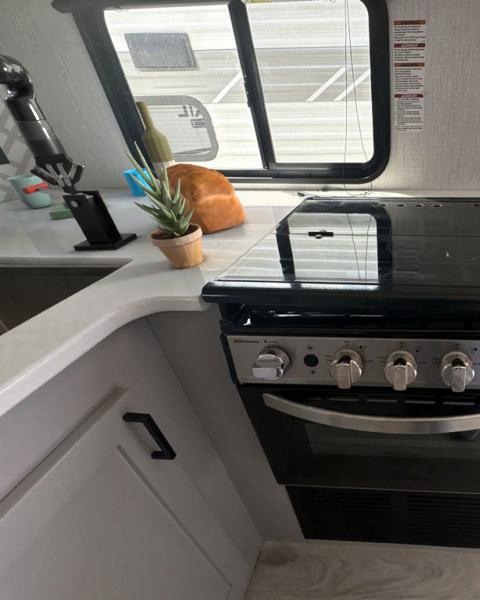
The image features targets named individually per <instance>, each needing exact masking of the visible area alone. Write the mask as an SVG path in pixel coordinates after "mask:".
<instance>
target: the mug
mask: <svg viewBox="0 0 480 600" xmlns="http://www.w3.org/2000/svg"><path fill="white" fill-rule="evenodd" d="M141 169H142V170H143V172H144V173H145V174H146V175H147V177H148V178H149V179H150V177H149V175H148V173H147V171H146V169H145V167H144V168H141ZM128 172H129V173H131V174H132V175H133V176H134V177H135V178H137V179H138V180H139V181H140V182H141V183H143V184H144V185H145V186H146V187H148V188H149V189H150V190H152V189H151V188H150V187H149V185H148V184H147V183H146V182H145V180H144V179H143V178H142V176H141V175H140V174H139V172H138V171H137V169H136V168H134V169H127V170H124V171H123V172H122V174H123V175H124V178H125V179H126V182H127V184H128V186H129V189H130V191H131V193H132V195H133V196H134V197H144V196H147V195H146V194H145V192H144V190H143V189H142V188H141V187H140V186H139V185H138V184H137V183H136V182H135V180H134V179H133V178H132V177H131V176H130V174H129V173H128ZM150 180H151V179H150Z"/></svg>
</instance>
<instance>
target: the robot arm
mask: <svg viewBox="0 0 480 600" xmlns="http://www.w3.org/2000/svg"><path fill="white" fill-rule="evenodd" d="M0 85H1V86H2V85H3V86H4V87H5V91H6V93H7V94H6V96H4V97H3V98H2V102H3V105H4V108H6V111H7V112H8V114H9V115H10V117H11V118H12V121H13V122H14V125H15V126H16V129H17V131H18V133H19V136H20V137H21V139H22V140H23V142H24V143H25V145H26V147H27V148H28V150H29V151H30V153H31V155H32V157H33V158H34V164H35V166H33V168H32V169H31V170H30V171H29V172H30V174H34V175H36V176H38V177H39V178H41V180H42V181H43V182H45V183H48V184H50V185H51V186H58V187H61V189H62V190H63V192H64V193H68V194H72V195H74V194H77V192H76V191H78V189H77V187H76V184H78V183H79V182H80V181H81V178H82V176H83V173H84V170H85V164H83V163H78V162H76V161H74V160H73V158H72V157H70V155H68V153H67V150H66V149H65V146H64V145H63V143H62V141H61V139H60V137H59V136H58V134H57V132H56V130H55V128H54V127H53V125H52V124H51V122H50V121H49V120H48V118H47V116H46V114H45V111H44V110H43V107H42V106H41V105H40V103H39V100H38V95H37V91H36V87H35V85H34V81H33V78H32V76H31V73H30V72H29V70H28V69H27V68H26V66H25V65H24V64H23V63H22V62H21V60H19V59H18V58H16V57H15V56H13V55H11V54H8V53H4V52H3V53H2V52H0ZM72 168H73V170H74V174H73V176H72V174H71V171H72ZM47 173H48V174H47ZM72 177H73V178H72Z"/></svg>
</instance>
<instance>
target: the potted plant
mask: <svg viewBox="0 0 480 600" xmlns="http://www.w3.org/2000/svg"><path fill="white" fill-rule="evenodd" d="M133 143H134V146H135V148H136V151H137V153H138V156H139V158H140V161H141V163H142V165H143V167H144V168H145V169H146V171H147V173H148V175H149V177H150V179H151V180H150V179H149V178H148V177H147V175H146V174H145V173H144V172H143V170H142V169H143V168H141V166H140V165H139V164H138V163H137V162H136V161H135V159H134V158H133V157H132V156H131V155H130V153H129V152H128V151H127V150H126V149H124V153H125V154H126V156H127V157H128V159H129V160H130V162H131V165H133V167H134V169H137V171H138V172H139V174H140V175H141V176H142V178H143V179H144V180H145V182H146V183H147V184H148V185H149V187H150V188H151V189H152V190H150V189H149V188H148V187H146V186H145V185H144V184H143V183H141V182H140V181H139V180H138V179H137V178H135V177H134V176H133V175H132V174H131V173H129V172H128V173H129V174H130V176H131V177H132V178H133V179H134V180H135V182H136V183H137V184H138V185H139V186H140V187H141V188H142V189H143V190H144V192H145V194H146V195H145V196H147V198H148V199H149V200H150V201H151V202H152V204H151V205H150V206H148V205H146V204H144V203H141V204H140V203H138V202H137V201H133V204H135V205H136V206H137V207H138V208H140V209H141V210H143V211H145V212H147V213H148V214H150V215H152V216H150V219H152V220H153V221H155V222H157V223H158V224H159V225H160V226H161V227H160V226H158V225H156V226H155V227H156V228H157V229H156V230H155V231H153V232H152V233H151V234H149V236H148V239H149V240H150V242H151V243H152V245H153V246H154V247H157V248H158V250H159V251H160V252H161V253H162V254H163V255H164V256H165V258H166V259H167V260H168V261H169V262H170V264H171V265H172V266H173V267H174V268H177V269H186V268H190V267H195V266H196V265H198V264H201V263H202V262H203V260H204V257H203V245H202V236H203V233H202V231H201V228H200V226H199V225H198V224H192V223H188V222H189V220H190V218H191V215H192V212H193V210H194V208H195V207H194V208H193V209H192V210H191V211H190V212H189V213H188V214H187V215H186V216H185V217H184V215H185V213H186V211H187V209H188V206H189V205H187V206H186V208H185V210H184V212H183V213H182V211H183V208H184V202H185V199H183V201H182V202H181V197H182V195H181V194H180V196H179V191H180V180H179V178H178V182H177V187H176V190H175V192H174V194H173V196H172V197H171V196H170V192H169V184H168V177H167V171H166V167H165V164H164V161H163V169H162V168H161V184H162V187H161V186H160V184H159V183H158V182H157V180H156V178H155V176H154V174H153V173H152V170H151V169H150V167H149V165H148V163H147V161H146V160H145V157H144V155H143V154H142V152H141V150H140V148H139V146H138V145H137V142H136V141H135V140H134V141H133ZM153 204H154V205H153Z"/></svg>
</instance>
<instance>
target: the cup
mask: <svg viewBox="0 0 480 600" xmlns="http://www.w3.org/2000/svg"><path fill="white" fill-rule="evenodd" d="M6 182H7V183H8V184H9V186H10V187H11V189H12V190H13V192H14V193H15V195H16V196H17V197H18V199H19V201H21V203H23V204H24V205H25V206H26V207H27V208H31V209H41V208H46V207H49V206H50V205H51V204H52V197H51V195H48V194H44V193H40V192H35V193H32V194H25V193H24V192H23V191H22V189H23V188H25V187H29V186H33V185H36V184H40V183H44V180H43V179H41V178H39V177H38V176H36V175H34V174H32V173H27V174H20V175H13V176H10V177H7V178H6Z"/></svg>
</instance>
